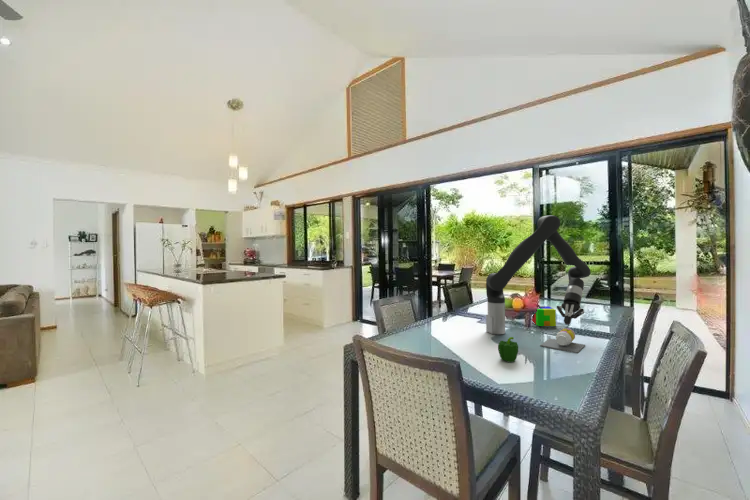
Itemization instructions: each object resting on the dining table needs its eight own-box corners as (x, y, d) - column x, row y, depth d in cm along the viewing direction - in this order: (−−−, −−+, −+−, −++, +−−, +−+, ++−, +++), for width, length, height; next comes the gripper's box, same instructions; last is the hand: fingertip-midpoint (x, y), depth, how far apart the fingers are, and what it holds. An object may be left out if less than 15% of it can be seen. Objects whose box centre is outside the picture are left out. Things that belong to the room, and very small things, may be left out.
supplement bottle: (572, 326, 168) (566, 332, 158) (577, 339, 167) (572, 346, 157) (558, 329, 172) (551, 335, 162) (563, 342, 171) (557, 348, 161)
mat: (549, 339, 174) (549, 338, 174) (585, 345, 163) (585, 344, 163) (540, 346, 164) (540, 345, 164) (577, 353, 153) (577, 352, 153)
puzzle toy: (548, 322, 208) (548, 306, 208) (555, 326, 198) (555, 309, 198) (532, 322, 209) (531, 306, 209) (538, 326, 199) (538, 309, 199)
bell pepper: (502, 364, 142) (502, 340, 142) (495, 357, 151) (495, 335, 150) (522, 363, 143) (522, 340, 142) (514, 356, 151) (513, 334, 150)
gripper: (557, 290, 179) (550, 317, 171) (586, 292, 170) (580, 321, 162) (560, 299, 183) (554, 325, 175) (589, 301, 174) (583, 330, 166)
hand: (566, 323), depth 168 cm, fingers closed
